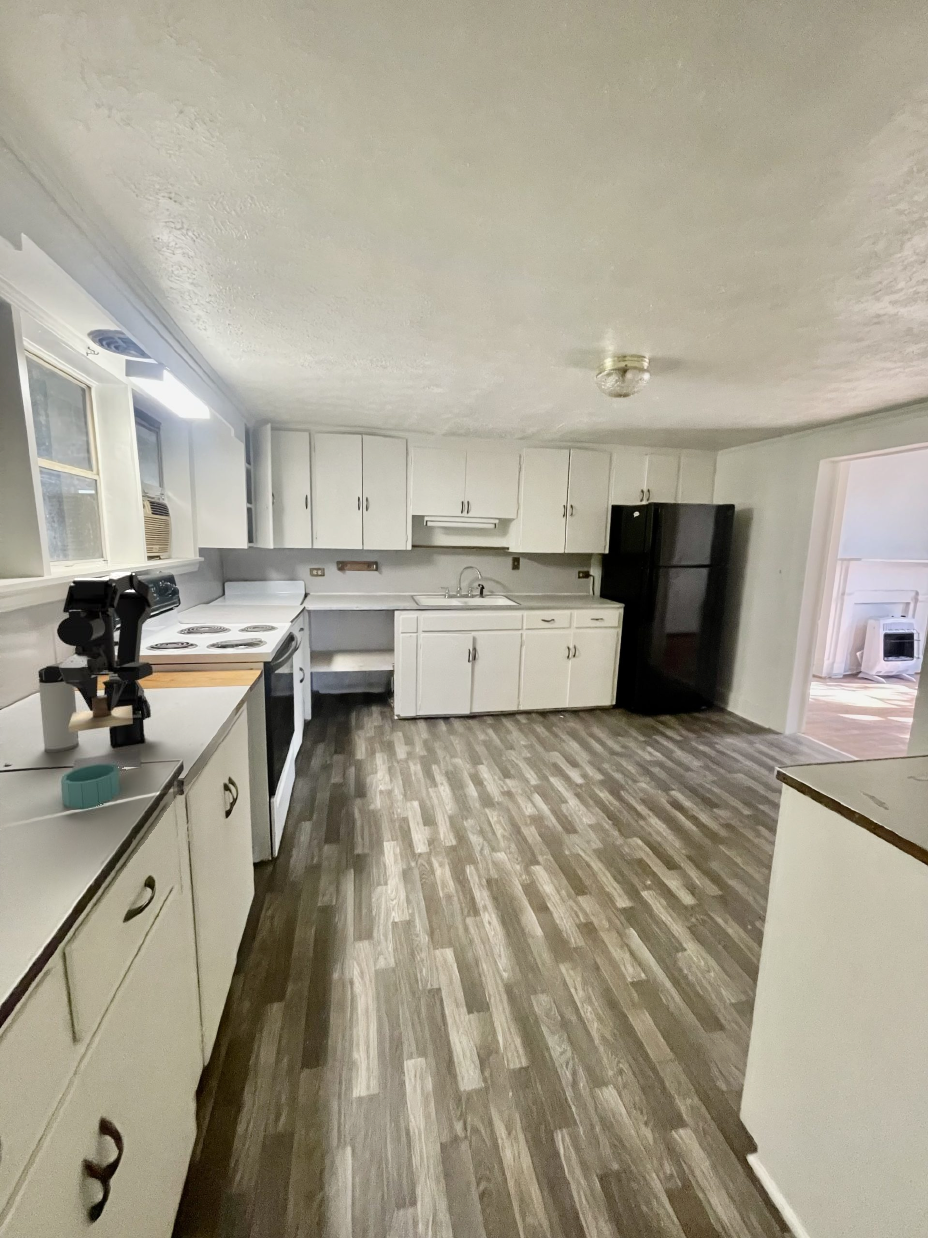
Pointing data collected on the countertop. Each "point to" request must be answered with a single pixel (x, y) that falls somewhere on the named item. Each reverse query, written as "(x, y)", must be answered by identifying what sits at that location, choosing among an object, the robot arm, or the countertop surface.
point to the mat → (112, 760)
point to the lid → (100, 716)
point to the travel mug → (57, 714)
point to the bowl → (90, 785)
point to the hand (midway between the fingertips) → (102, 710)
